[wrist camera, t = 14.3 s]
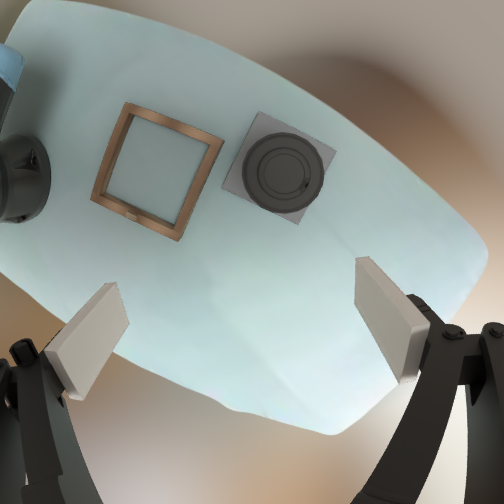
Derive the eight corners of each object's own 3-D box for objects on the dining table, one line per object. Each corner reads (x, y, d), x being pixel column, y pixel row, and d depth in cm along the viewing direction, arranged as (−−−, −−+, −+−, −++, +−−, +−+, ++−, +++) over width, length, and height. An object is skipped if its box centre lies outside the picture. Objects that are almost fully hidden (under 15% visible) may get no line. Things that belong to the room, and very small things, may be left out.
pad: (222, 187, 38) (221, 188, 37) (259, 112, 35) (259, 111, 34) (297, 223, 40) (298, 224, 39) (335, 151, 36) (336, 151, 35)
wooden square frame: (96, 197, 39) (87, 200, 36) (131, 103, 34) (123, 101, 32) (181, 237, 40) (176, 243, 38) (224, 140, 36) (222, 139, 34)
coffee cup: (310, 198, 38) (327, 214, 28) (247, 201, 38) (244, 218, 28) (308, 136, 35) (325, 130, 26) (243, 138, 35) (238, 133, 26)
